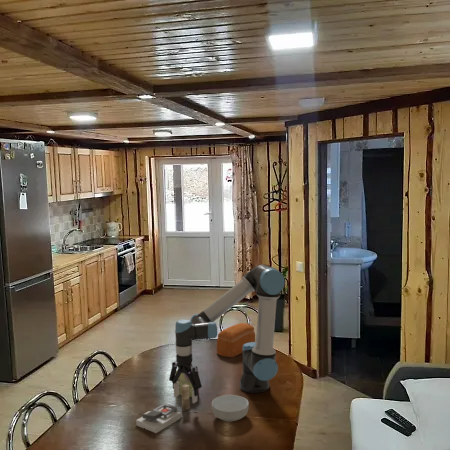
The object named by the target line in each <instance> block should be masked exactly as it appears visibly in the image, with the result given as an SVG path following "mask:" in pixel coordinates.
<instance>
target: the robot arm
mask: <svg viewBox="0 0 450 450" xmlns="http://www.w3.org/2000/svg"><path fill="white" fill-rule="evenodd" d="M284 287H285V277H284V275H283V274H282V272H280V271H279V269H277V268H275V267H272V266H270V265H267V264H260V265H257V266H254V268H251V269H250V270H249V271H248V272H247V273H245V274H244V275H243V276H242V278H241V280H240V281H238V282H237V283H236V284H235V285H233V287H230V289H229V290H227V291H226V292H225V293H224V294H222V295H221V296H220V297H219V298H218V299H216V300H215V301H213V302H212V303H211V304H210V305H208V306H207V307H206V308H205V309H203V310H202V311H201V312H200V313H195V314H192V316H191V317H190V319H178V320H177V321H176V322H175V329H174V330H175V331H174V333H175V354H176V355H175V361H172V362H171V371H170V373H169V378H168V380H169V381H170V382H171V383H172V390H173V397H174V398H177V397H179V396H180V395H179V382H176V381H177V380H178V378H179V376H180V375H181V373H184V374H186V375H187V376H188V378H189V380H190V382H191V384H192V386H193V389H192V397H191V399H192V400H191V402H192V404H195V403H197V402H198V395H199V394H198V389H199V390H200V389H202V387H203V386H202V381H201V379H200V375H199V374H198V372H199V370H198V366H197V365H196V366H193V363H192V362H193V341H200V340H211V339H216V338H218V327H217V326H218V325H217V323H216V322H215V321H216V320H218V319H219V318H220V317H221V316H223V315H224V314H226V312H227V311H229V310H230V309H231V308H233V307H234V306H235V305H236V304H238V303H239V302H241V300H243V299H244V298H245V297H246V296H248V295H249V294H251V293H252V292H253V293H254V292H255V294H256V296H257V297H258V306H257V308H258V309H257V318H256V320H257V321H256V332H255V342H250V343H246V344H244V345H243V350H242V351H243V353H242V374H241V378H240V381H239V388H240V389H241V391H243V392H246V393H251V394H257V393H259V394H260V393H263V392H266V391H267V390H269V388H270V382H269V381H271V380H272V379H274V377H275V376H276V375H277V373H278V371H279V367H278V363H277V361H276V356H277V355H276V353H277V352H276V349H275V348H274V341H275V340H274V337H275V325H276V315H277V313H276V311H277V301H278V299H279V298H280V297H281V292H282V291H283V289H284ZM176 371H177V373H176ZM189 372H190V373H189ZM175 374H176V375H175Z"/></svg>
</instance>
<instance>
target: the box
mask: <svg viewBox="0 0 450 450" xmlns="http://www.w3.org/2000/svg"><path fill="white" fill-rule="evenodd" d="M176 373H177V370H176ZM189 373H190V372H189ZM198 374H199V371H198ZM175 375H176V374H175ZM176 382H179V395H178V396H182V394H181V386H182V385H189V398H192V389H193V386H192V384H191V382H190V380H189V378H188V376H187V375H186V374H184V373H181V375H180V376H179V378H178V380H177V381H176ZM199 391H200V388H199V389H198V393H199Z"/></svg>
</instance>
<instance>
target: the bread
mask: <svg viewBox="0 0 450 450" xmlns="http://www.w3.org/2000/svg"><path fill="white" fill-rule="evenodd" d="M216 338H217V339H216V353H217V355H219V356H222V357H226V358H234V357H236V356H238V355H242V354H243V351H242V350H243V345H244V344H246V343H250V342H256V332H255V328H254V326H253V325H251V324H250V323H246V322H240V323H237V324H234V325H231V326H229V327H227V328H225V329H223V330H221V331H220V332H218V333H217V337H216Z"/></svg>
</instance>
